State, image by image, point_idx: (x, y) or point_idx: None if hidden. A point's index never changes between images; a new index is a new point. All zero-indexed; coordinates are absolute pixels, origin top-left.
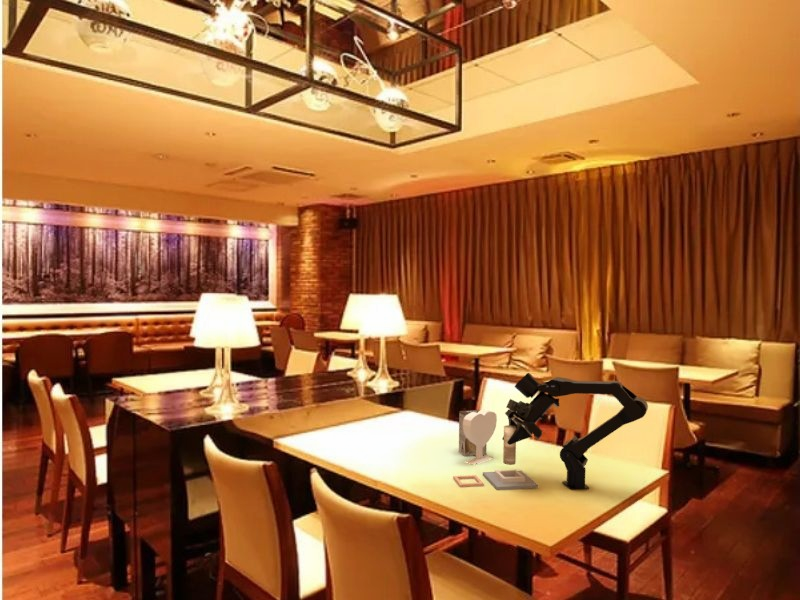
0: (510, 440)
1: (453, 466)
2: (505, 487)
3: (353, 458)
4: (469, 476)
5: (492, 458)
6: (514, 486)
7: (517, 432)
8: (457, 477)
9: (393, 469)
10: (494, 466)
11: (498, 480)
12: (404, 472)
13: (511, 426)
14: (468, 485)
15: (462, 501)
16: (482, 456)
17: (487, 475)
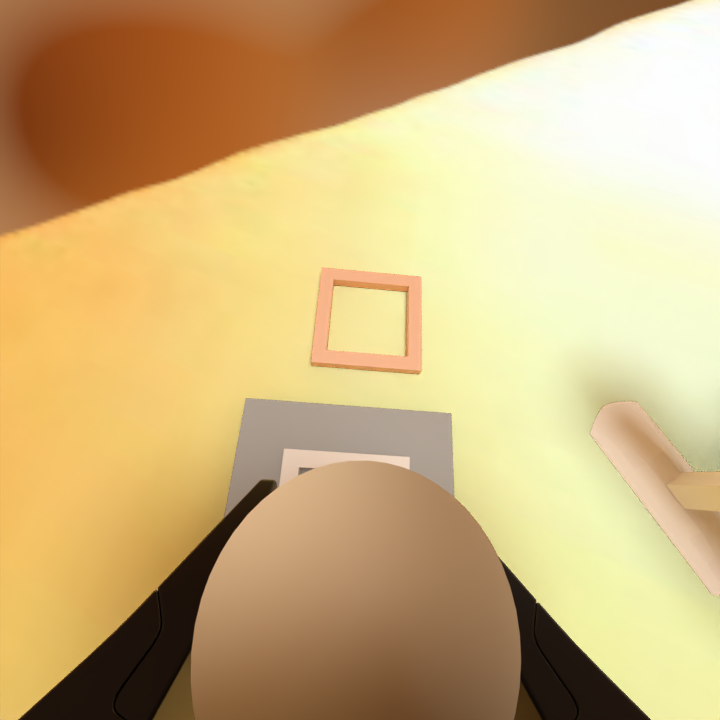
0: (232, 514)
1: (565, 333)
2: (239, 441)
3: (628, 79)
4: (408, 335)
5: (709, 583)
6: (230, 492)
7: (57, 690)
8: (408, 289)
9: (527, 141)
10: (574, 535)
11: (325, 442)
12: (497, 160)
13: (404, 707)
14: (318, 300)
15: (186, 233)
16: (715, 522)
17: (402, 417)
